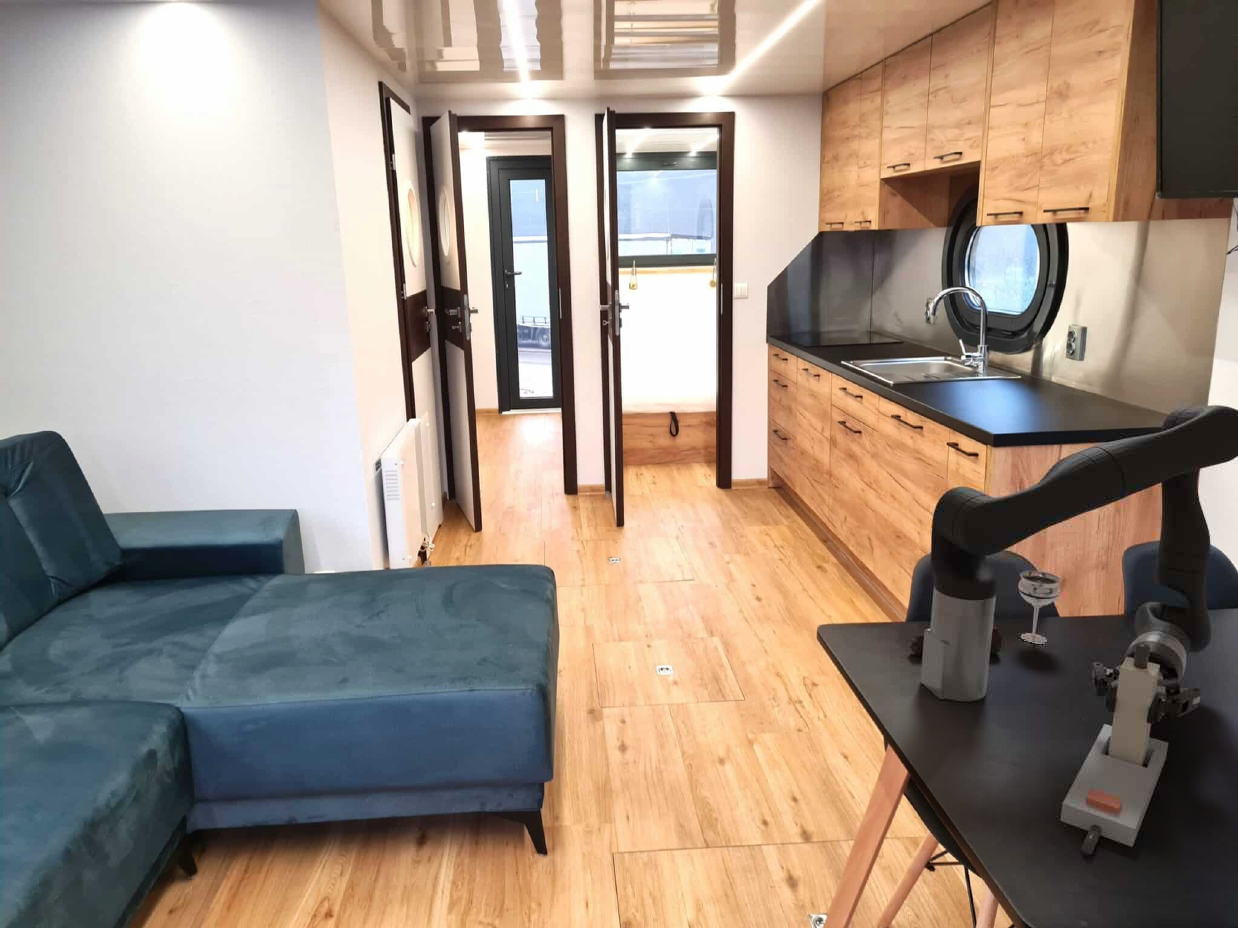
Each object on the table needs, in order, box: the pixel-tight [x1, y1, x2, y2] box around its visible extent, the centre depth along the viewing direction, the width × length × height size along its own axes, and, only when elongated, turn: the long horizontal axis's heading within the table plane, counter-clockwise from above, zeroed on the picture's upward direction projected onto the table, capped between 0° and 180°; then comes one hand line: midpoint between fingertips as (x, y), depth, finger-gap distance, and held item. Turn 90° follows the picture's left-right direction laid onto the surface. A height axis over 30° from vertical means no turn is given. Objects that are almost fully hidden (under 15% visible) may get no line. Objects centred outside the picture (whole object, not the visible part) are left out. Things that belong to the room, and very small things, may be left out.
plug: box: [1107, 643, 1160, 767], centre depth 120 cm, size 4×4×17 cm
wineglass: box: [1017, 570, 1062, 645], centre depth 161 cm, size 7×7×12 cm
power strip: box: [1059, 723, 1169, 856], centre depth 116 cm, size 29×8×3 cm, turn 141°
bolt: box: [910, 623, 1002, 656], centre depth 156 cm, size 6×5×15 cm
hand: (1131, 711), depth 118 cm, fingers closed on plug, 4 cm apart
